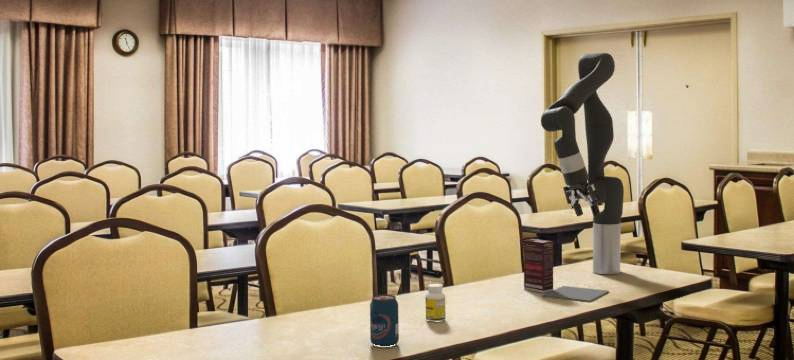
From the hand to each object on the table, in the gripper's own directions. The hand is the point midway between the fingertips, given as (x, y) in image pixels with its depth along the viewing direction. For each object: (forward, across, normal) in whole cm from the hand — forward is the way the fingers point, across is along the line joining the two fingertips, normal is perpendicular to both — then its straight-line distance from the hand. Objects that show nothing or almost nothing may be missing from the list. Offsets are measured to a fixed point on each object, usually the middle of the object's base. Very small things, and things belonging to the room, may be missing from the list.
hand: (588, 215), depth 288 cm
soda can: (-3, -31, +92) cm, 97 cm away
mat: (+18, -7, +18) cm, 27 cm away
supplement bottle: (+3, -15, +70) cm, 71 cm away
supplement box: (+16, +4, +24) cm, 29 cm away
